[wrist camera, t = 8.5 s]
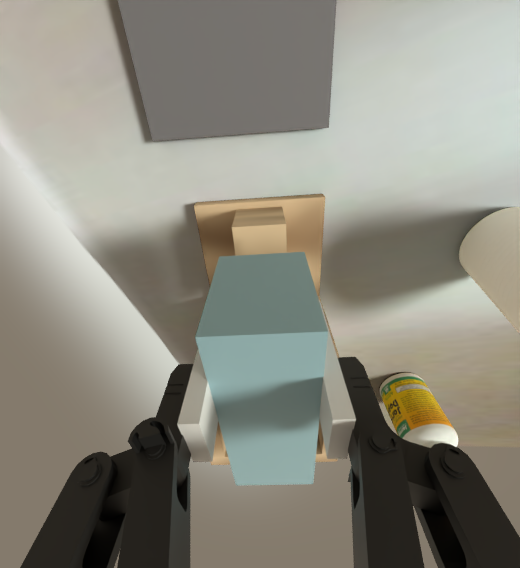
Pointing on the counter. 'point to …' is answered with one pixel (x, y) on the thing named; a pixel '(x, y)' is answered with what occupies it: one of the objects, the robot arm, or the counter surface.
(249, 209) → the cradle
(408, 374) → the supplement bottle
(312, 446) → the bar
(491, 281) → the cup
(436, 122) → the counter surface
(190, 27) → the mat
